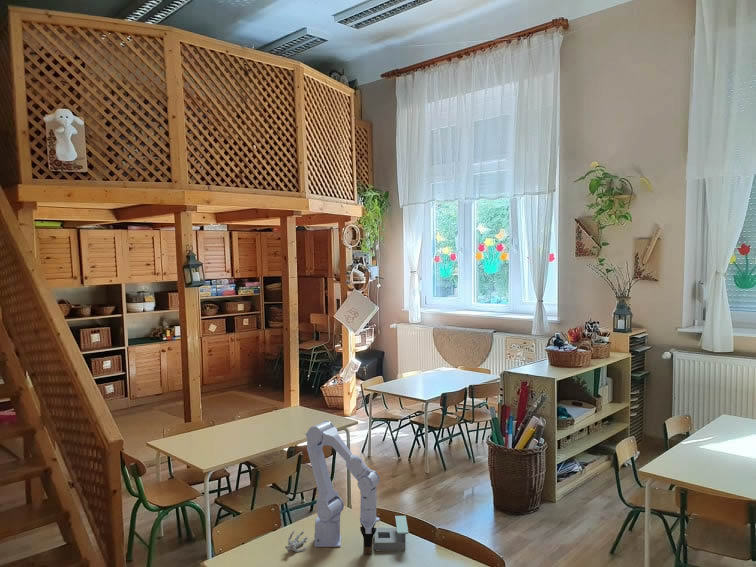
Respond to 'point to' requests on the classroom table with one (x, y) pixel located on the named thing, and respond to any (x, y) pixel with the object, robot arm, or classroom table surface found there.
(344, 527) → the classroom table surface
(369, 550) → the peg
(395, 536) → the socket block
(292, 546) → the grey branched piece
